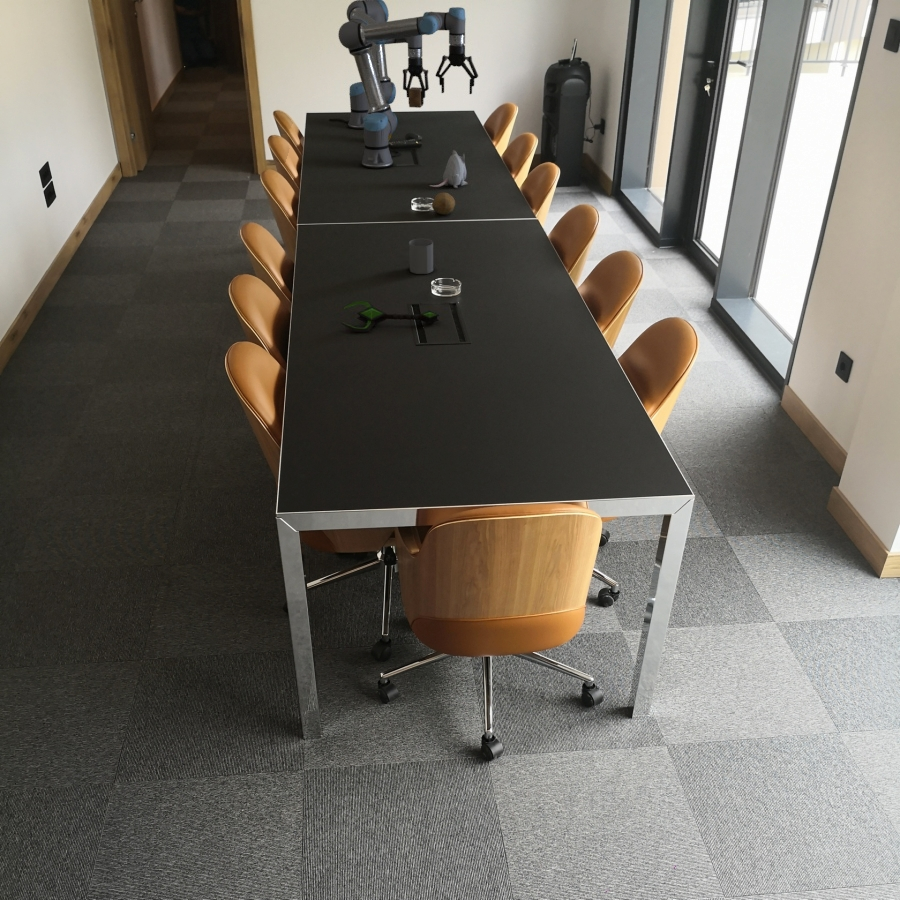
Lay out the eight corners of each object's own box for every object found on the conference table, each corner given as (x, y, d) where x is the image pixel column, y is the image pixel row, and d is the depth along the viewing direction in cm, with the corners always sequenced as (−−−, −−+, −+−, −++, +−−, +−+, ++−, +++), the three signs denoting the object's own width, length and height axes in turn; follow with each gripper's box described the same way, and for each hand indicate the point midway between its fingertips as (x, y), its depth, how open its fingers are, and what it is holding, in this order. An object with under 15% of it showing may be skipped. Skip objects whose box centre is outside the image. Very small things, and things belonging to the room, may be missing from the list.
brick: (409, 107, 463) (408, 89, 458) (412, 104, 468) (411, 87, 464) (420, 107, 462) (420, 89, 457) (423, 105, 467) (422, 87, 463)
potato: (453, 208, 369) (453, 189, 365) (456, 218, 357) (456, 199, 353) (431, 208, 368) (430, 189, 364) (432, 218, 356) (432, 199, 352)
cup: (409, 265, 311) (408, 238, 306) (432, 265, 312) (431, 238, 307) (410, 274, 304) (409, 246, 299) (433, 273, 305) (433, 246, 299)
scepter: (438, 296, 270) (341, 293, 268) (439, 326, 263) (340, 324, 261) (437, 309, 275) (342, 306, 273) (438, 339, 268) (341, 337, 266)
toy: (472, 184, 399) (472, 151, 391) (436, 195, 384) (436, 161, 376) (457, 180, 404) (458, 147, 396) (422, 191, 389) (421, 157, 381)
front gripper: (429, 45, 403) (429, 93, 414) (482, 46, 399) (481, 95, 410) (432, 42, 409) (432, 90, 421) (484, 44, 405) (483, 92, 416)
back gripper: (395, 57, 451) (397, 104, 463) (431, 59, 447) (432, 106, 460) (399, 55, 457) (400, 102, 469) (434, 56, 454) (434, 103, 466)
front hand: (456, 93), depth 415 cm, fingers open, 13 cm apart
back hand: (416, 104), depth 465 cm, fingers closed on brick, 6 cm apart
